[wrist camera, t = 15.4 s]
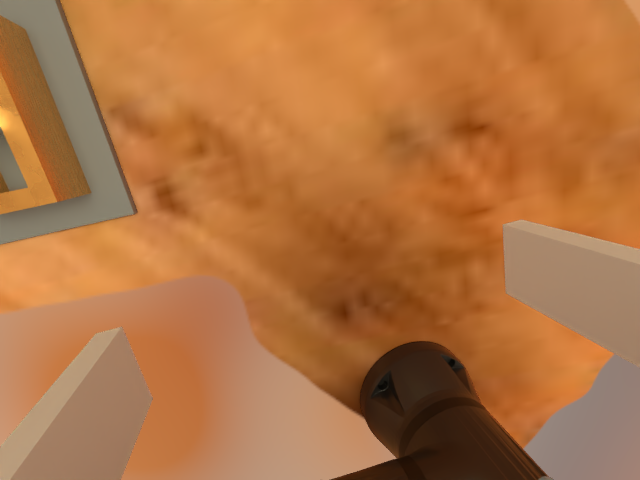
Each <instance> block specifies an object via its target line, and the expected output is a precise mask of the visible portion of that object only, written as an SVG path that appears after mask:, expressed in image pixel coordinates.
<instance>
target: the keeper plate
mask: <svg viewBox="0 0 640 480" xmlns="http://www.w3.org/2000/svg"><path fill="white" fill-rule="evenodd" d="M0 15H1V16H2V17H4V18H6V19H8V20H10V21H12V22H13V23H15V24H17V25H19V26H21V27H23V28H24V29H26V32H27V34H28V37H29V39H30V41H31V44H32V46H33V49H34V51H35V54H36V56H37V59H38V61H39V64H40V66H41V69H42V71H43V74H44V76H45V79H46V81H47V84H48V86H49V89H50V91H51V94H52V96H53V99H54V101H55V103H56V106H57V108H58V111H59V113H60V116H61V118H62V121H63V123H64V126H65V128H66V131H67V133H68V136H69V138H70V141H71V143H72V146H73V148H74V151H75V153H76V156H77V158H78V161H79V163H80V165H81V168H82V170H83V173H84V175H85V178H86V180H87V183H88V185H89V188H90V190H91V193H90V194H86V195H82V196H78V197H75V198H71V199H67V200H63V201H59V202H55V203H50V204H46V205H41V206H37V207H32V208H27V209H23V210H18V211H13V212H9V213H4V214H0V244H4V243H8V242H13V241H17V240H21V239H26V238H30V237H35V236H39V235H44V234H48V233H52V232H57V231H61V230H66V229H70V228H75V227H79V226H83V225H88V224H92V223H97V222H101V221H105V220H110V219H114V218H119V217H123V216H128V215H132V214H135V213H137V209H136V207H135V204H134V201H133V199H132V196H131V193H130V190H129V188H128V185H127V182H126V180H125V177H124V174H123V171H122V169H121V166H120V163H119V161H118V158H117V155H116V152H115V150H114V147H113V144H112V142H111V139H110V136H109V133H108V131H107V128H106V125H105V123H104V120H103V117H102V114H101V112H100V109H99V106H98V104H97V101H96V98H95V95H94V93H93V90H92V87H91V84H90V82H89V79H88V76H87V74H86V71H85V68H84V65H83V63H82V60H81V57H80V55H79V52H78V49H77V46H76V44H75V41H74V38H73V36H72V33H71V30H70V27H69V25H68V22H67V19H66V17H65V14H64V11H63V8H62V6H61V3H60V0H0ZM0 172H1V174H2V176H3V178H4V180H5V183H6V185H7V187H8V189H9V191H14V190H19V189H24V188H28V186H27V184H26V181H25V179H24V177H23V175H22V173H21V170H20V168H19V166H18V164H17V162H16V159H15V157H14V155H13V153H12V151H11V149H10V146H9V144H8V142H7V140H6V138H4V137H0Z"/></svg>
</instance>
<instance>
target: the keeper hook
mask: <svg viewBox="0 0 640 480" xmlns="http://www.w3.org/2000/svg"><path fill="white" fill-rule="evenodd" d="M0 137H4V138H5V135H4V133H3V131H2V129H1V127H0Z"/></svg>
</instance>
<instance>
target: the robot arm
mask: <svg viewBox="0 0 640 480" xmlns="http://www.w3.org/2000/svg"><path fill="white" fill-rule="evenodd" d="M503 241H504V263H505V285H506V294H508V295H510V296H512V297H514V298H515V299H517V300H519V301H521V302H523V303H524V304H526V305H528V306H530V307H532V308H533V309H535V310H537V311H539V312H541V313H542V314H544V315H546V316H548V317H550V318H551V319H553V320H555V321H557V322H559V323H560V324H562V325H564V326H566V327H568V328H569V329H571V330H573V331H575V332H577V333H578V334H580V335H582V336H584V337H586V338H587V339H589V340H591V341H593V342H595V343H596V344H598V345H600V346H602V347H604V348H605V349H607V350H609V351H611V352H613V353H614V354H616V355H618V356H620V357H622V358H623V359H625V360H627V361H629V362H631V363H632V364H634V365H636V366H638V367H640V249H637V248H633V247H629V246H625V245H621V244H617V243H613V242H609V241H605V240H601V239H597V238H593V237H589V236H585V235H581V234H577V233H573V232H569V231H565V230H561V229H557V228H553V227H549V226H545V225H541V224H537V223H533V222H529V221H525V220H518V221H514V222H510V223H507V224H503ZM152 400H153V398H152V396H151V393H150V391H149V389H148V386H147V384H146V382H145V379H144V377H143V375H142V372H141V370H140V367H139V365H138V363H137V360H136V358H135V356H134V353H133V351H132V349H131V346H130V344H129V342H128V339H127V337H126V335H125V332H124V330H123V327H119V328H115V329H111V330H108V331H104V332H100V333H97V334H95V335H94V336H93V338H92V339H91V340H90V341H89V342H88V344H87V345H86V346H85V347H84V348H83V349H82V351H81V352H80V353H79V354H78V355H77V357H76V358H75V359H74V360H73V361H72V362H71V364H70V365H69V366H68V367H67V368H66V370H65V371H64V372H63V373H62V374H61V375H60V377H59V378H58V379H57V380H56V381H55V382H54V384H53V385H52V386H51V387H50V388H49V390H48V391H47V392H46V393H45V394H44V395H43V397H42V398H41V399H40V400H39V401H38V402H37V404H36V405H35V406H34V407H33V409H32V410H31V411H30V412H29V413H28V414H27V416H26V417H25V418H24V419H23V420H22V421H21V422H20V424H19V425H18V426H17V427H16V428H15V430H14V431H13V432H12V433H11V434H10V436H9V437H8V438H7V439H6V440H5V441H4V442H3V444H2V445H1V446H0V480H121V478H122V475H123V473H124V470H125V468H126V465H127V463H128V460H129V458H130V455H131V453H132V450H133V447H134V445H135V442H136V440H137V437H138V435H139V432H140V430H141V427H142V425H143V422H144V420H145V417H146V415H147V412H148V409H149V407H150V405H151V402H152ZM360 404H361V409H362V413H363V415H364V417H365V420H366V422H367V424H368V427H369V428H370V430H371V431H372V433H373V434H374V435H375V436H376V438H377V439H378V440H379V441H380V442H381V443H382V444H383V445H384V446H385V447H386V448H387V449H388V450H389V451H390V452H391V453H392V454H393V455H394V456H395V457H396V458H397V459H393V460H390V461H387V462H384V463H381V464H378V465H375V466H372V467H369V468H366V469H363V470H360V471H357V472H354V473H350V474H347V475H344V476H341V477H337V478H334V479H331V480H553V479H552V478H551V477H549V476H548V475H547V474H546V473H545V472H544V471H543V470H542V469H541V468H540V467H539V466H538V465H537V464H536V463H535V461H534V460H533V459H532V458H531V457H530V456H529V455H528V454H527V453H526V452H525V451H524V450H523V449H522V447H521V446H520V445H519V444H518V443H517V442H516V441H515V440H514V439H513V438H512V437H511V436H510V434H509V433H508V432H507V431H506V430H505V429H504V428H503V427H502V426H501V425H500V424H499V423H498V422H497V420H496V419H495V418H494V417H493V416H492V415H491V414H490V413H489V412H488V411H487V410H486V409H485V408H484V406H483V405H482V404H481V402H480V399H479V397H478V395H477V393H476V390H475V388H474V386H473V383H472V381H471V379H470V376H469V374H468V372H467V370H466V368H465V367H464V365H463V364H462V363H461V362H460V361H459V360H458V359H457V358H456V357H455V356H454V355H453V354H452V353H451V352H450V351H449V350H448V349H446V348H445V347H443V346H441V345H439V344H436V343H431V342H414V343H409V344H405V345H402V346H400V347H398V348H395V349H394V350H392V351H390V352H389V353H387V354H386V355H384V356H383V357H382V358H381V359H380V360H379V361H378V362H377V363H376V364H375V365H374V366H373V367H372V368H371V370H370V371H369V373H368V374H367V376H366V378H365V380H364V383H363V386H362V389H361V395H360Z"/></svg>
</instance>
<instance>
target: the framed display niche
mask: <svg viewBox="0 0 640 480" xmlns="http://www.w3.org/2000/svg"><path fill="white" fill-rule="evenodd" d="M0 127H1V129H2V131H3V133H4V135H5V138H6V140H7V142H8V144H9V146H10V149H11V151H12V153H13V155H14V157H15V159H16V162H17V164H18V166H19V168H20V170H21V173H22V175H23V177H24V179H25V181H26V184H27V186H28V188H24V189H19V190H14V191H9V189H8V187H7V185H6V183H5V180H4V178H3V176H2V174H1V172H0V214H4V213H9V212H13V211H18V210H23V209H27V208H32V207H37V206H41V205H46V204H50V203H55V202H59V201H63V200H67V199H71V198H75V197H78V196H82V195H86V194H90V193H91V190H90V188H89V185H88V183H87V180H86V178H85V175H84V173H83V170H82V168H81V165H80V163H79V161H78V158H77V156H76V153H75V151H74V148H73V146H72V143H71V141H70V138H69V136H68V133H67V131H66V128H65V126H64V123H63V121H62V118H61V116H60V113H59V111H58V108H57V106H56V103H55V101H54V99H53V96H52V94H51V91H50V89H49V86H48V84H47V81H46V79H45V76H44V74H43V71H42V69H41V66H40V64H39V61H38V59H37V56H36V54H35V51H34V49H33V46H32V44H31V41H30V39H29V37H28V34H27V32H26V29H24V28H23V27H21V26H19V25H17V24H15V23H13V22H12V21H10V20H8V19H6V18H4V17H2V16H1V15H0Z"/></svg>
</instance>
